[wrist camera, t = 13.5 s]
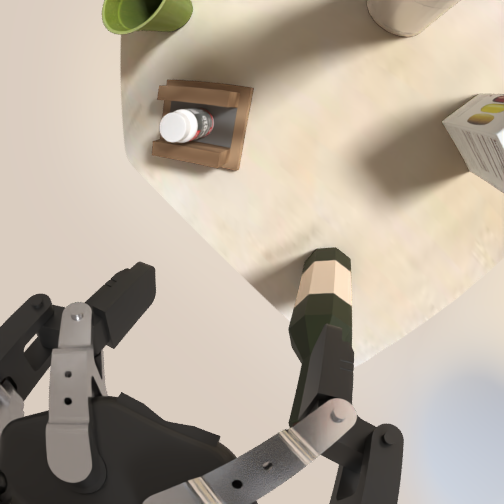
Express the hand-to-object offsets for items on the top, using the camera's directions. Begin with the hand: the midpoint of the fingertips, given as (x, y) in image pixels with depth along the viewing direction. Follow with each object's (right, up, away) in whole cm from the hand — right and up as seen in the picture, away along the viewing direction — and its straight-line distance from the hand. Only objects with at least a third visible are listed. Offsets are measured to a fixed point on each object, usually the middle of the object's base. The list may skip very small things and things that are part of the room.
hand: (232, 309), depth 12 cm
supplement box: (+34, +20, +17) cm, 43 cm away
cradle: (-7, +23, +29) cm, 37 cm away
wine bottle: (+14, 0, +35) cm, 38 cm away
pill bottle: (-7, +22, +28) cm, 36 cm away
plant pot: (-12, +41, +20) cm, 48 cm away
